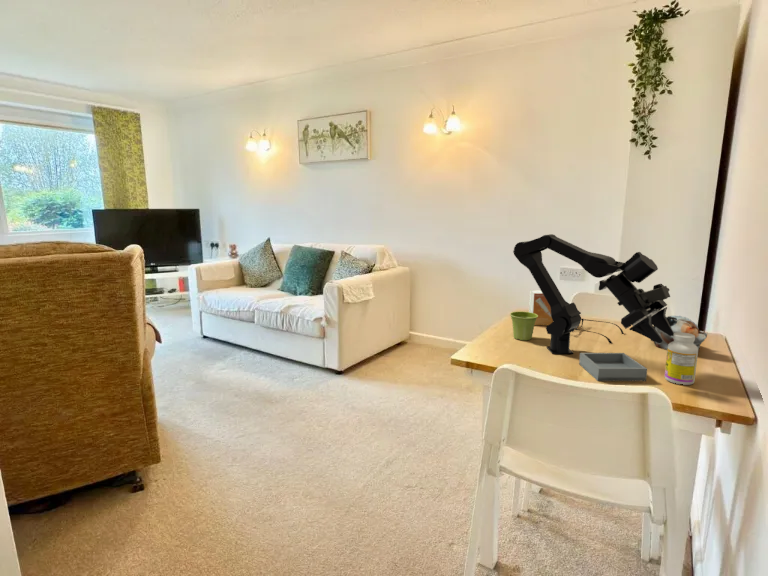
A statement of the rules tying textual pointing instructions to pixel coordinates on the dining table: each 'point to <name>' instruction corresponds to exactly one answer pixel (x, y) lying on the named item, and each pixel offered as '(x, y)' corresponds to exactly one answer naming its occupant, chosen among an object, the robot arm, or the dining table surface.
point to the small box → (540, 308)
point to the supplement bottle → (681, 359)
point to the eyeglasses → (598, 333)
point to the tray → (612, 367)
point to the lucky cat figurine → (680, 326)
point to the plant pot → (523, 324)
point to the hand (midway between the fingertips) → (667, 338)
